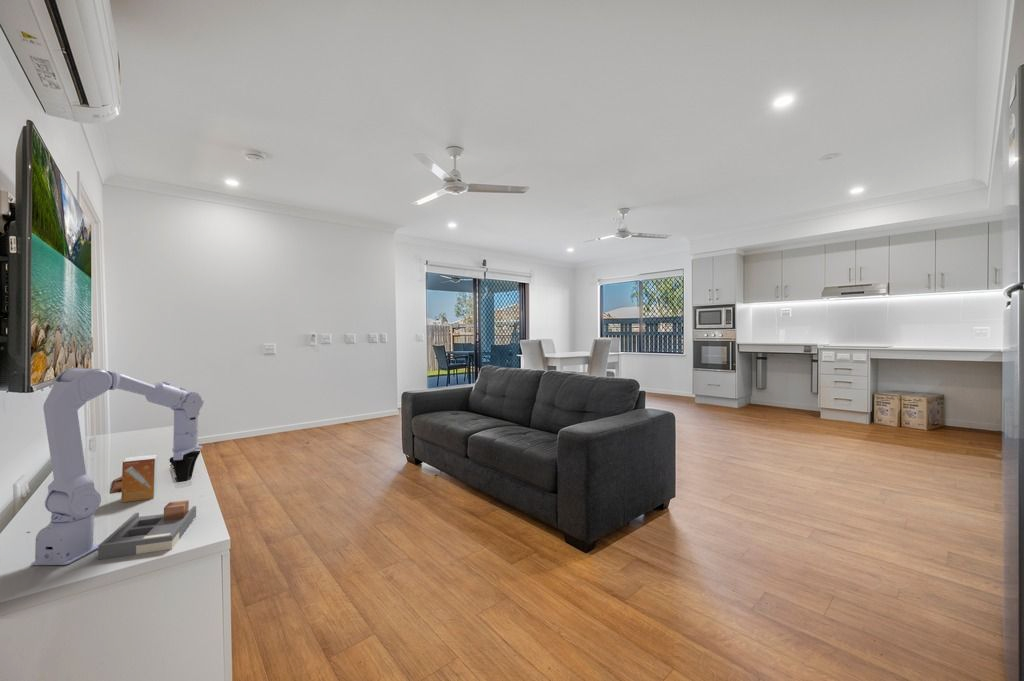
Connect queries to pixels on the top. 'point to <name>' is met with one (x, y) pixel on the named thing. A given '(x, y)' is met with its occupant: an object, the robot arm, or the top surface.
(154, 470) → the small box
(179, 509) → the block
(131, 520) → the grey divided tray
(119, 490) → the sunglasses case
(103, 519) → the top surface
